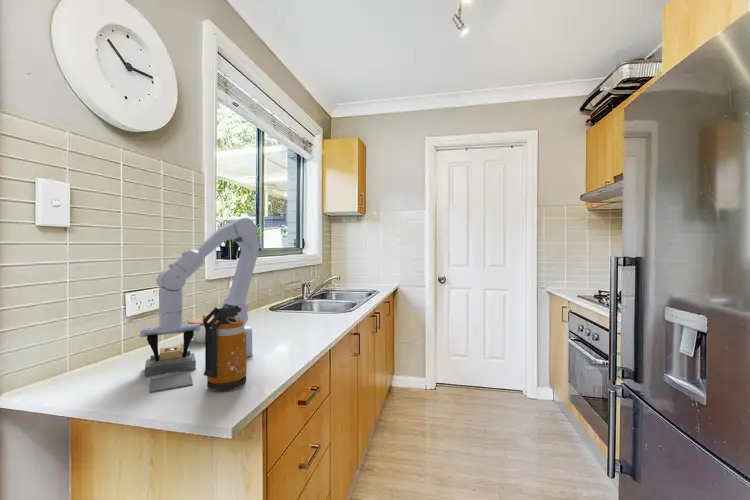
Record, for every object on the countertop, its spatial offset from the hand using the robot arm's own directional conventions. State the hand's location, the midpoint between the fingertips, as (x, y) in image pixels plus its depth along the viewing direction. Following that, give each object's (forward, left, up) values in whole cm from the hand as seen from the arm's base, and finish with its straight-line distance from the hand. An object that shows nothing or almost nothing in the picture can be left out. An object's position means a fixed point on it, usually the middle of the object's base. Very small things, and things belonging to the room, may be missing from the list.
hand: (171, 359), depth 98 cm
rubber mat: (0, +12, -3) cm, 12 cm away
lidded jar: (-11, -29, -3) cm, 31 cm away
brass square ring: (0, 0, 0) cm, 0 cm away
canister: (-11, +22, -3) cm, 25 cm away
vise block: (0, 0, -3) cm, 3 cm away
